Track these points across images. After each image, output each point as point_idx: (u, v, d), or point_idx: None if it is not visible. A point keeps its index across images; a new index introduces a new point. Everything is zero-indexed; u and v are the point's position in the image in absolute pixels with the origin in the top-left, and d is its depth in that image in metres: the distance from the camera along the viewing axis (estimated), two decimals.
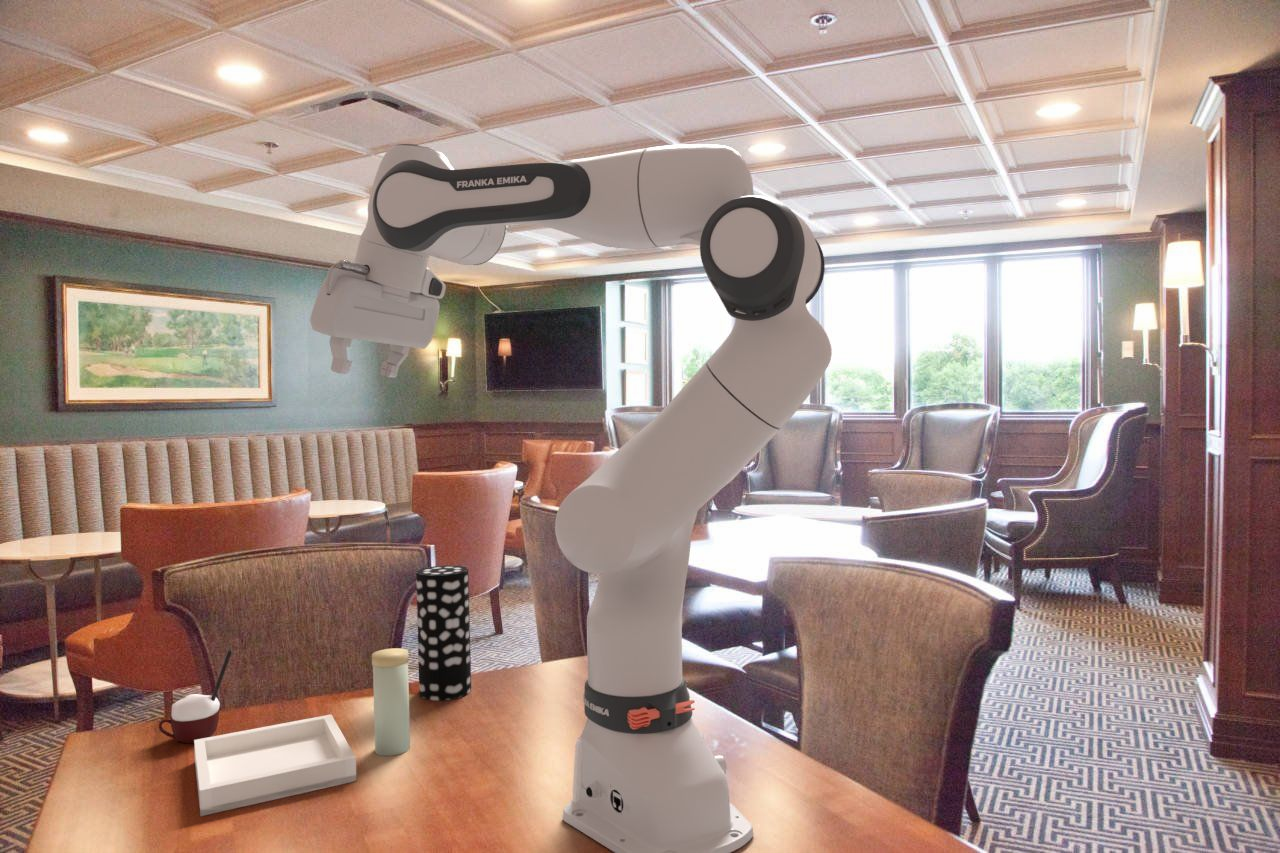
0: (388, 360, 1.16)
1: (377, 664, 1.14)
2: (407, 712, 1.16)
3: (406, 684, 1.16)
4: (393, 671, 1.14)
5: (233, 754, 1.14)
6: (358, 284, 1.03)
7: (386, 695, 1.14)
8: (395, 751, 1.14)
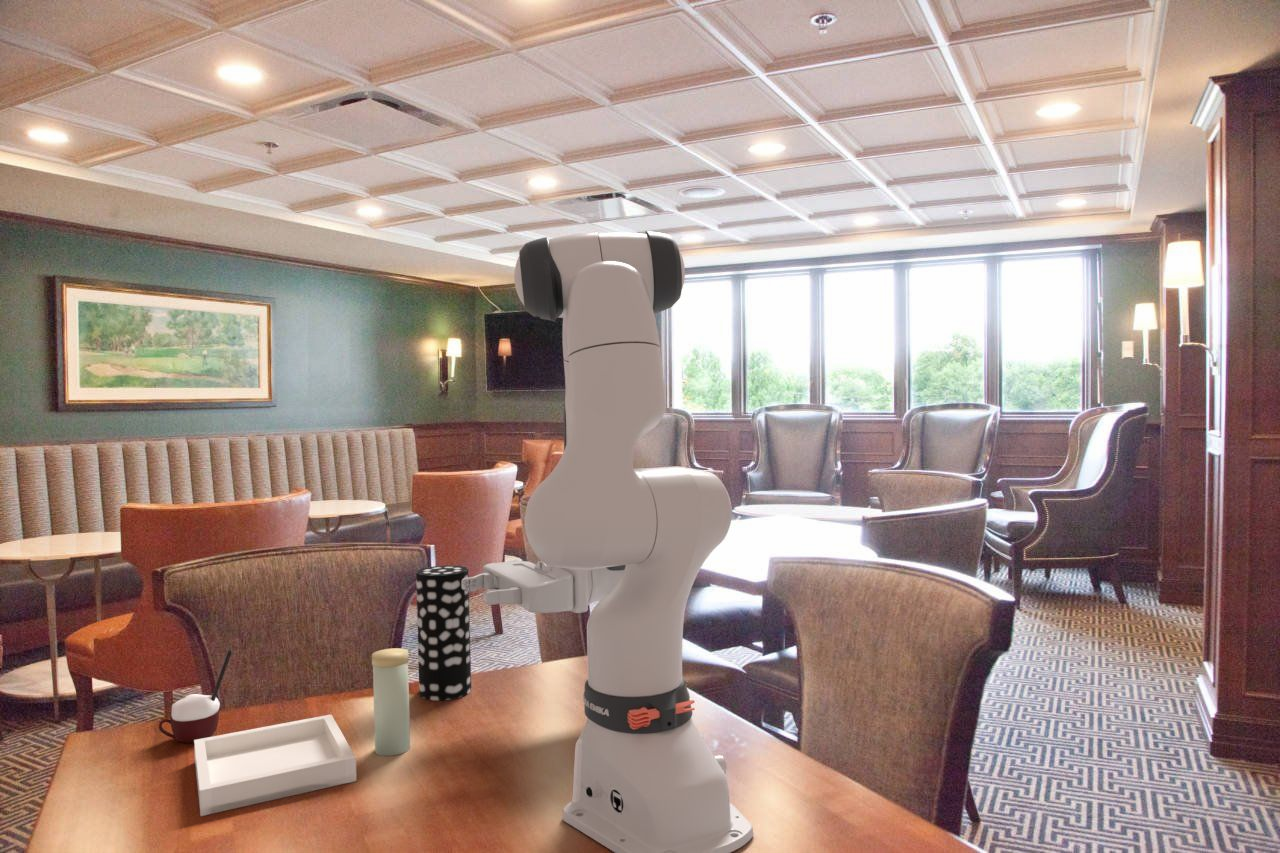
0: None
1: (377, 664, 1.14)
2: (407, 712, 1.16)
3: (406, 684, 1.16)
4: (393, 671, 1.14)
5: (233, 754, 1.14)
6: (528, 562, 1.34)
7: (386, 695, 1.14)
8: (395, 751, 1.14)
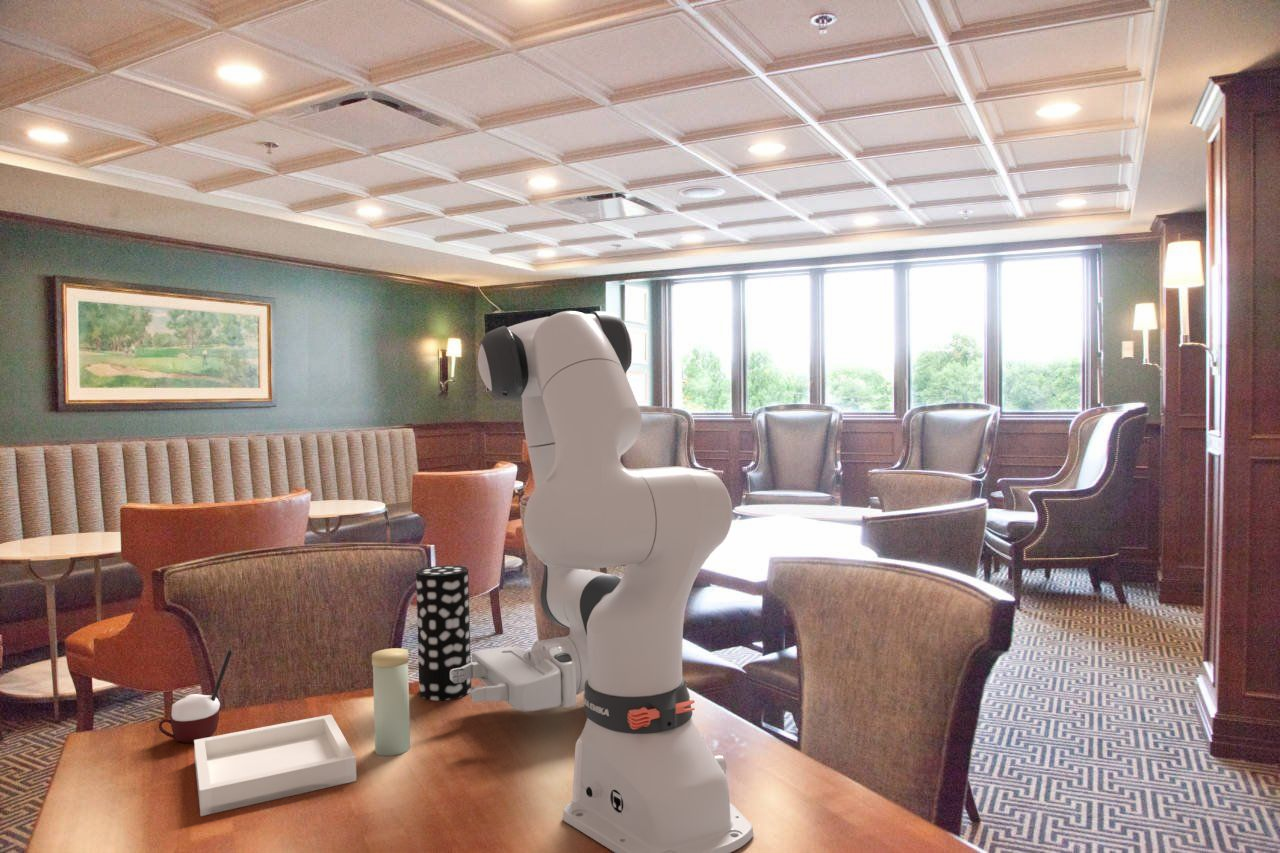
0: None
1: (377, 664, 1.14)
2: (407, 712, 1.16)
3: (406, 684, 1.16)
4: (393, 671, 1.14)
5: (233, 754, 1.14)
6: (518, 648, 1.33)
7: (386, 695, 1.14)
8: (395, 751, 1.14)
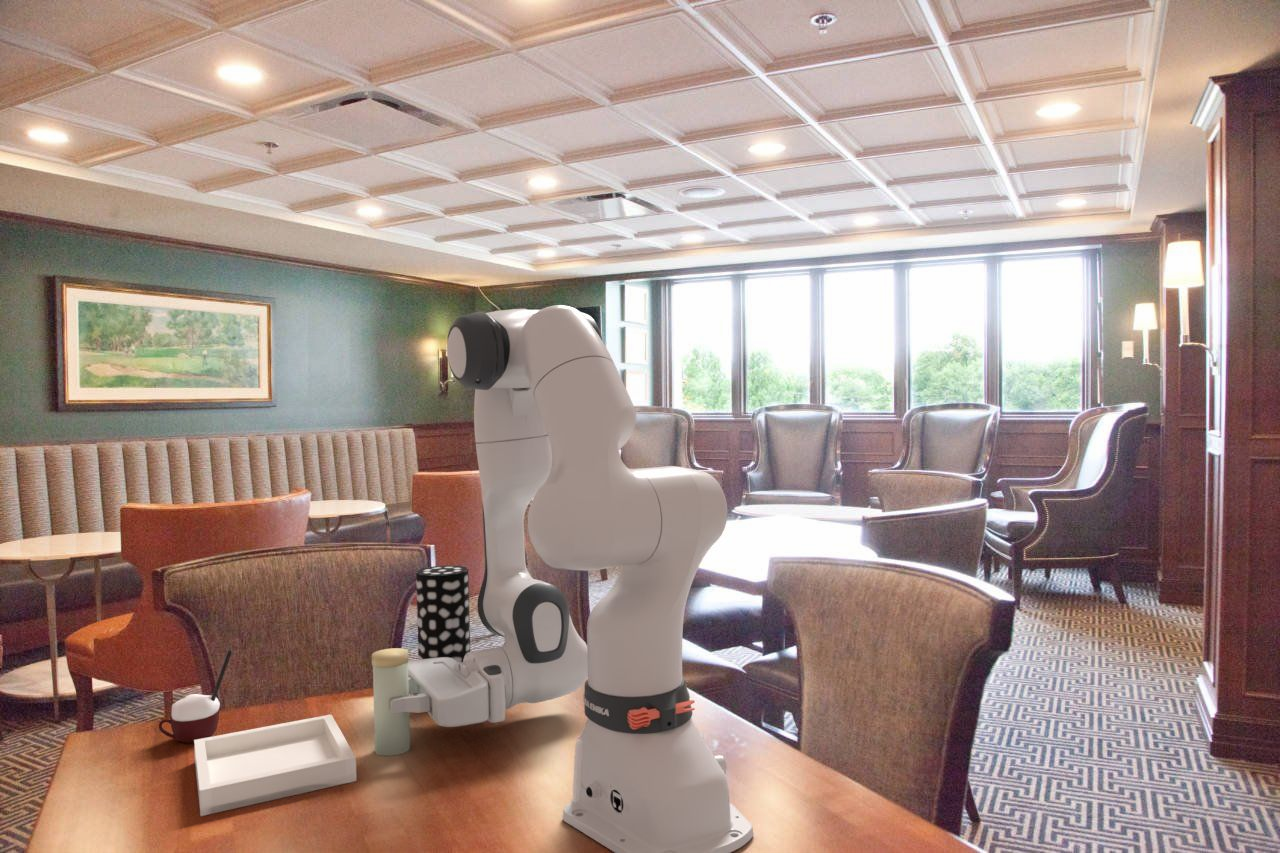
0: None
1: (377, 664, 1.14)
2: (407, 712, 1.16)
3: (406, 684, 1.16)
4: (393, 671, 1.14)
5: (233, 754, 1.14)
6: (450, 659, 1.28)
7: (386, 695, 1.14)
8: (395, 751, 1.14)
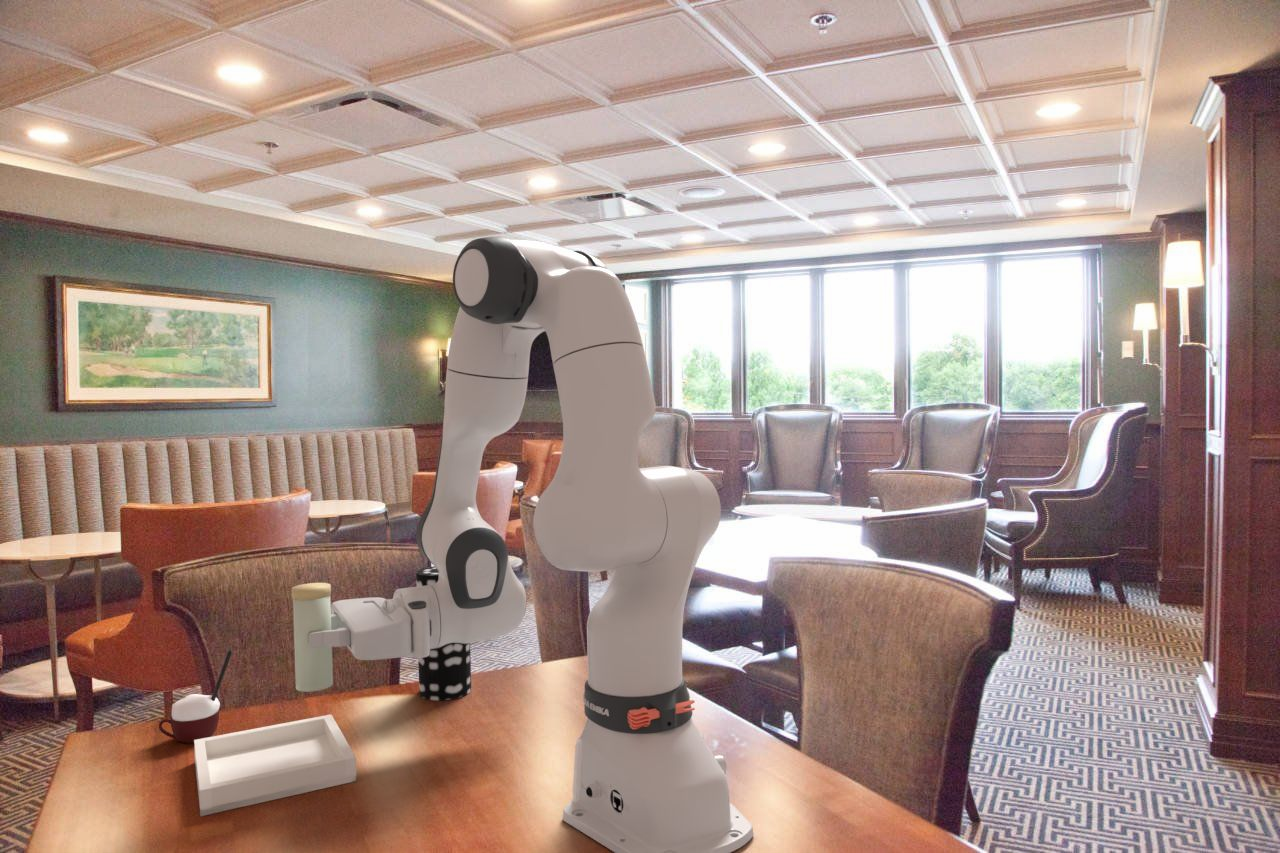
0: None
1: (296, 597, 1.10)
2: (329, 648, 1.12)
3: (327, 618, 1.12)
4: (312, 604, 1.10)
5: (233, 754, 1.14)
6: (382, 598, 1.24)
7: (305, 628, 1.10)
8: (315, 687, 1.11)
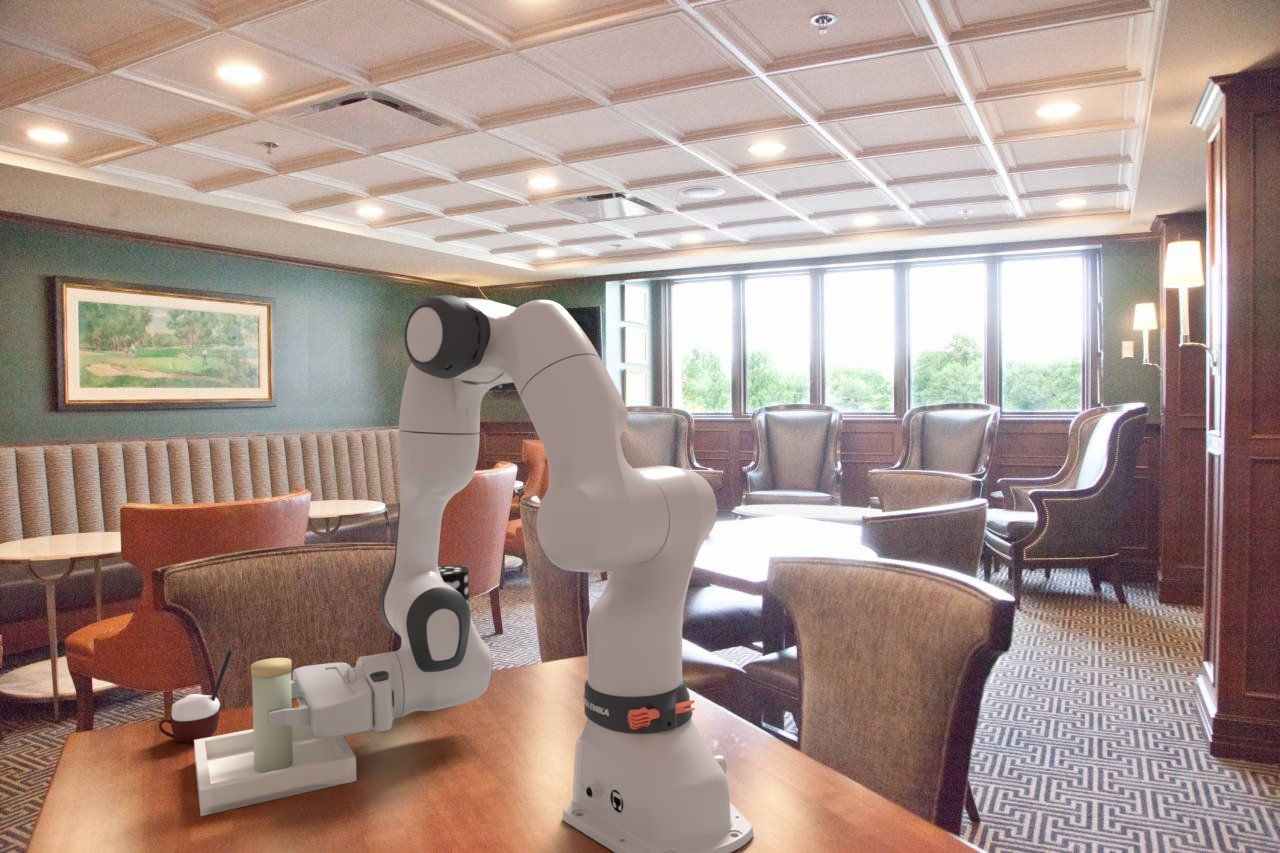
0: None
1: (255, 674, 1.08)
2: (289, 726, 1.10)
3: (287, 696, 1.09)
4: (272, 682, 1.08)
5: (233, 754, 1.14)
6: (345, 664, 1.21)
7: (264, 707, 1.08)
8: (274, 767, 1.08)
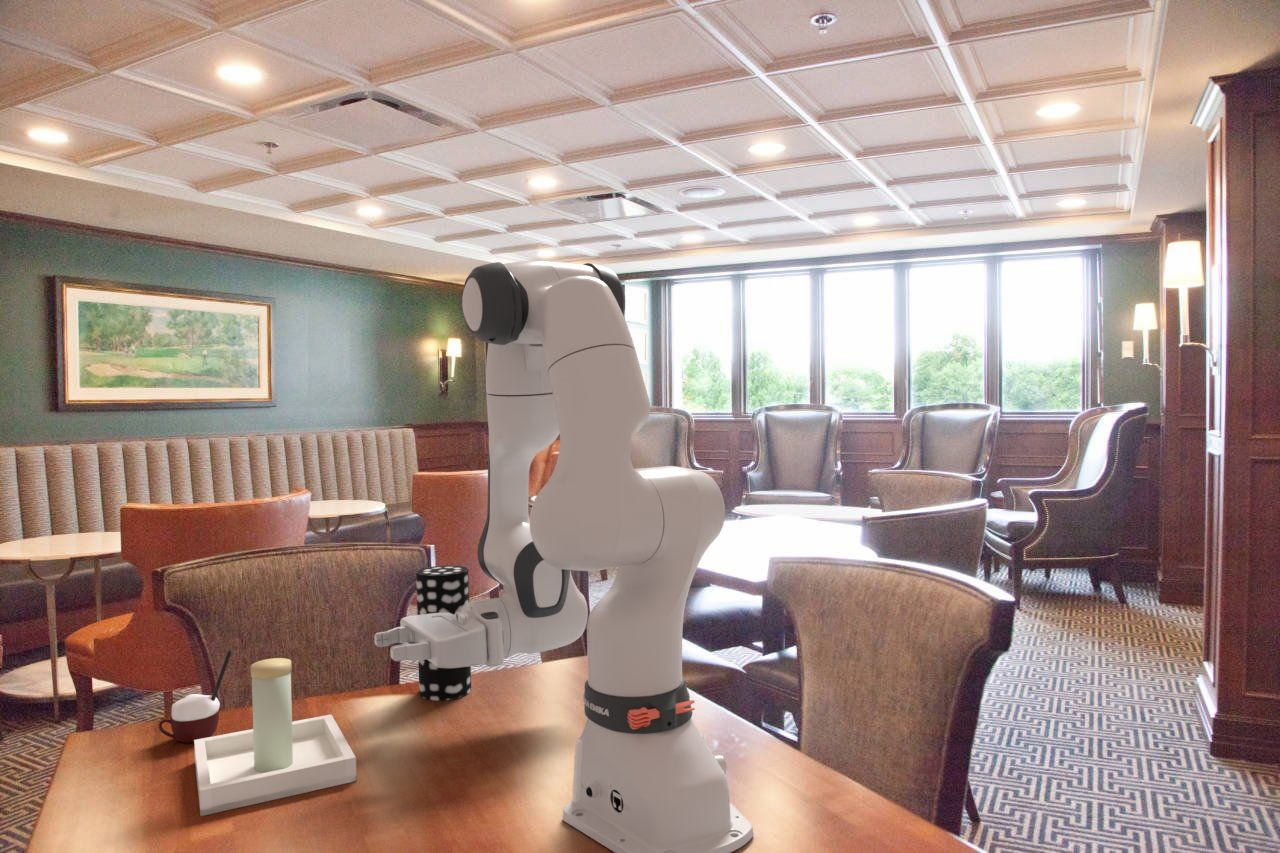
0: None
1: (255, 675, 1.07)
2: (289, 726, 1.09)
3: (287, 696, 1.09)
4: (272, 683, 1.08)
5: (233, 754, 1.14)
6: (448, 613, 1.28)
7: (264, 708, 1.07)
8: (274, 768, 1.08)
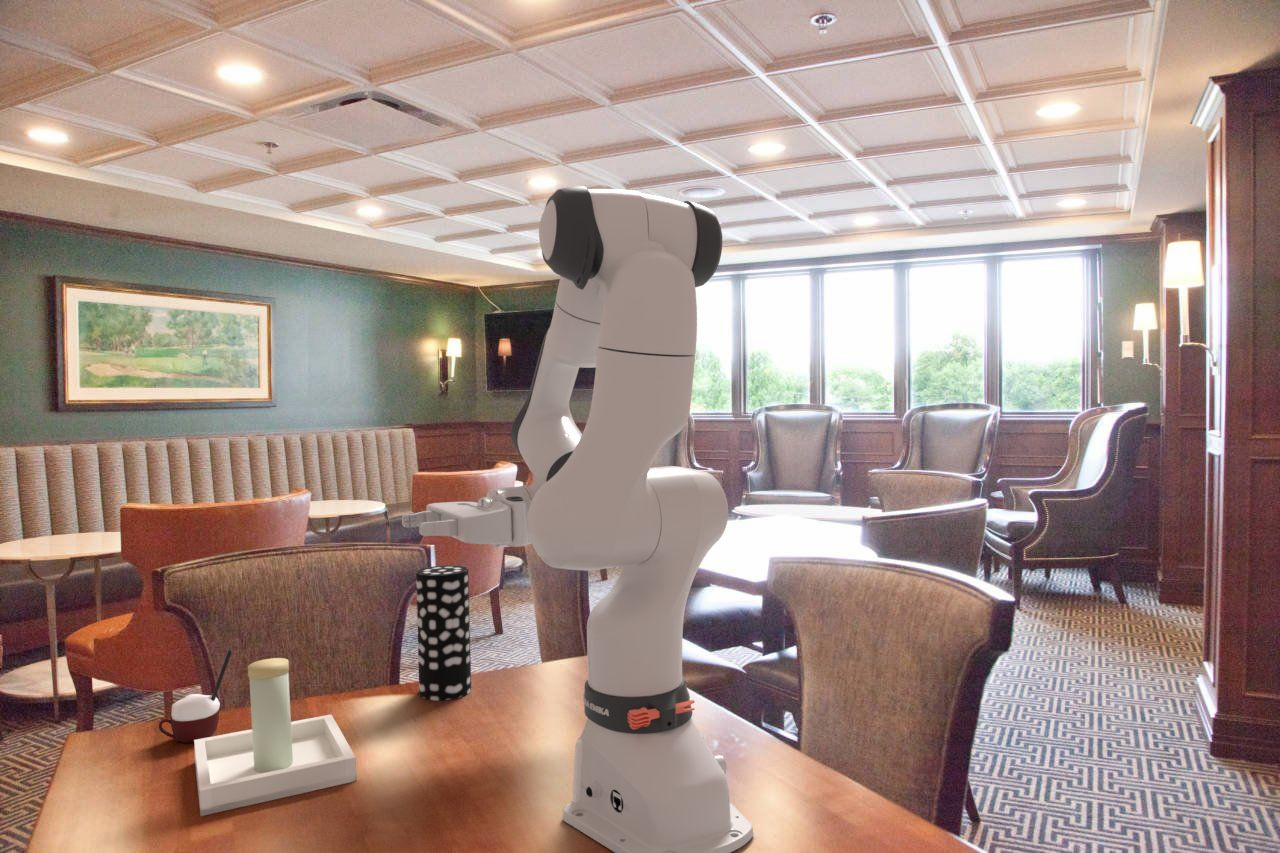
0: None
1: (252, 676, 1.07)
2: (288, 726, 1.09)
3: (285, 696, 1.09)
4: (270, 683, 1.07)
5: (233, 754, 1.14)
6: (473, 502, 1.32)
7: (262, 708, 1.07)
8: (274, 767, 1.08)
